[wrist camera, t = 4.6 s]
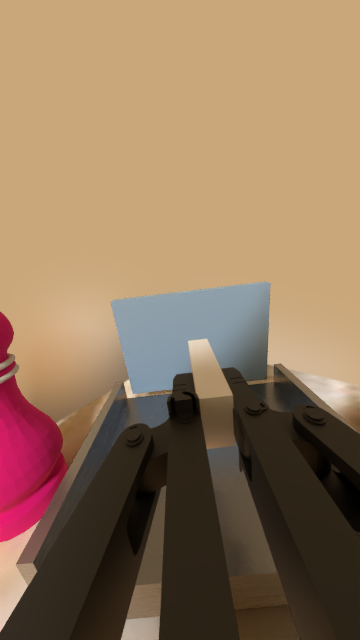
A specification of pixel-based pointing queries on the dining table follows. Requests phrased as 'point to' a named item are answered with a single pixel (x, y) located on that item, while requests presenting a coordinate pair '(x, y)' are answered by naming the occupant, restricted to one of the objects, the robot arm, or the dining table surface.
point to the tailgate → (193, 332)
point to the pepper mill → (24, 450)
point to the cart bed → (229, 488)
